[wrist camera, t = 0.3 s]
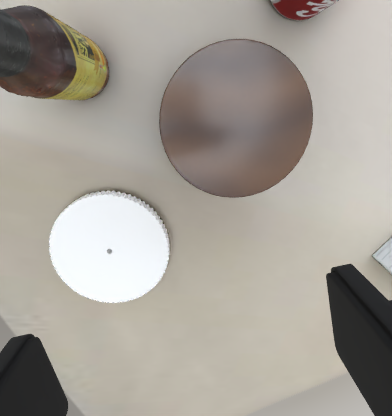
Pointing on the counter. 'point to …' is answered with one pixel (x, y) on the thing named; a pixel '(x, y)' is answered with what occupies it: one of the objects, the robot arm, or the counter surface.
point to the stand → (236, 118)
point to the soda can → (301, 8)
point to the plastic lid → (109, 246)
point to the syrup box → (385, 255)
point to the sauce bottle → (48, 57)
